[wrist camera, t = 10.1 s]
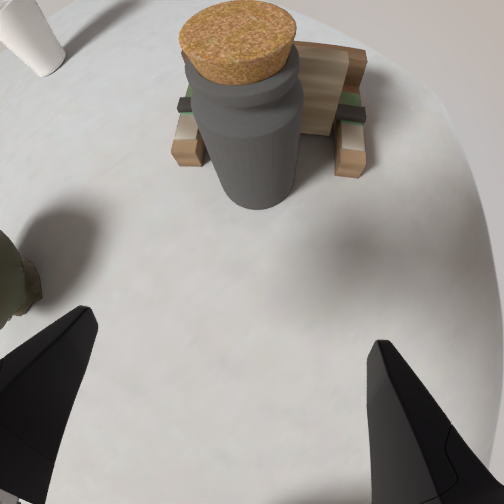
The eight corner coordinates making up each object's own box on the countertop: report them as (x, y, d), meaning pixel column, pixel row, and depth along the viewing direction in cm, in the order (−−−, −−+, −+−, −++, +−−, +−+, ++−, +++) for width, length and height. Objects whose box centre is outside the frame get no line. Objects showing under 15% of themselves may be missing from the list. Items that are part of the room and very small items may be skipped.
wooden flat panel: (357, 139, 24) (386, 70, 15) (186, 129, 25) (154, 60, 16) (356, 128, 24) (383, 58, 15) (189, 118, 25) (159, 49, 17)
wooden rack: (358, 178, 23) (379, 141, 18) (179, 166, 25) (156, 128, 19) (352, 92, 25) (365, 50, 19) (199, 84, 27) (185, 42, 21)
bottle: (209, 166, 25) (148, 24, 10) (270, 135, 25) (263, -17, 10) (242, 224, 23) (196, 96, 9) (307, 189, 24) (342, 42, 9)
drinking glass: (79, 46, 30) (34, -21, 16) (55, 80, 29) (-1, 13, 15) (51, 52, 31) (7, -5, 17) (28, 84, 30) (-24, 28, 15)
